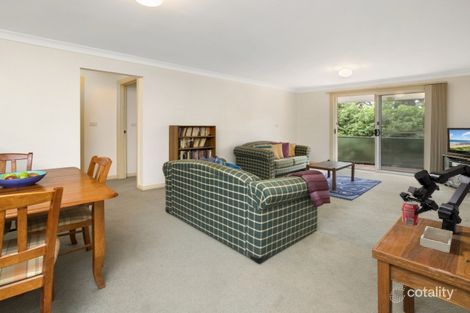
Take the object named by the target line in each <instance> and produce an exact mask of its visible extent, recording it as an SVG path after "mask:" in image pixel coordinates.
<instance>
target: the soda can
mask: <svg viewBox="0 0 470 313" xmlns="http://www.w3.org/2000/svg"><path fill="white" fill-rule="evenodd" d="M403 203H404V202H403ZM403 203H402V207H403V211H402V210H401V211H402V212H401V213H402V214H401V222H402V223H403V224H404V226H409V227H416V226H418V223H419V215H420V214H418V215H416V216H415V215H414V213H415V211H416V210H417V209H418V208H419V206H420V205H418V202H415V201H405V203H404V204H403Z"/></svg>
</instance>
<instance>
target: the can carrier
mask: <svg viewBox="0 0 470 313" xmlns="http://www.w3.org/2000/svg"><path fill="white" fill-rule="evenodd" d="M452 233H453V232H452V231H448V230H443V229H441V228H438V227H432V226H428V225H426V226H425V228H424V230H423V231H422V234H421V236H420V241H419V246H420V247H424V248H427V249H432V250H435V251H439V252H444V253H447V254H450V250H451V246H452V240H453V234H452Z"/></svg>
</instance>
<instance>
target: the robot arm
mask: <svg viewBox="0 0 470 313" xmlns="http://www.w3.org/2000/svg"><path fill="white" fill-rule="evenodd" d="M459 175H460V180H461V181H460V183H459V185H458V187H457V188H456V189H455V191H454V192H453V194H452V196H451V197H450V199H449V200H448V201H447V202H446V203H445V202H442V203H441V204H440V206H439V205H438V203H437V202H436V201H435V199H432V198H433V196H432V195H433V194H434V192H436V191H440V185H445V184H446V183H447V182H449V180H451V178H455V177H457V176H459ZM413 176H414V179H415V180H416V181H417V182H418V184H419V185H421V187H416V186H411V185H410V186H409V187H408V189H407V192H404V191H401V192H400V193H399V197H400V198H401V199H402V200H403V203H402V205H403V204H404V203H405V201H412V202H416V203H419V205H418V206H419V208H418V209H417V210H416V211H415V213H414V215H415V216H416V215H418V214H419V215H421V214H423V213H426V212H432V211H435V212H437V216H438V219H439V220H442V222H441V228H440V229H443V230H448V231H452V232H453V233H452V235H454V234H460V232H459V231H457V225H460V224H461V223H462V221H463V220H462V218H461V217H460V215H459V214H460V208H459V207H460V206H461V204H462V203H463V201H464V199H465V198H466V196H467V195H468V194H469V192H470V165H469V164H462V163H459V164H457V165H455V166H452V167H449V168H447V169H444V170H436V171H431V172H429V171H428V170H427V169H422V170H418V171H417V172H415V173H414V174H413ZM438 184H440V185H438ZM401 211H403V206H402V207H401ZM419 215H418V216H419Z"/></svg>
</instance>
